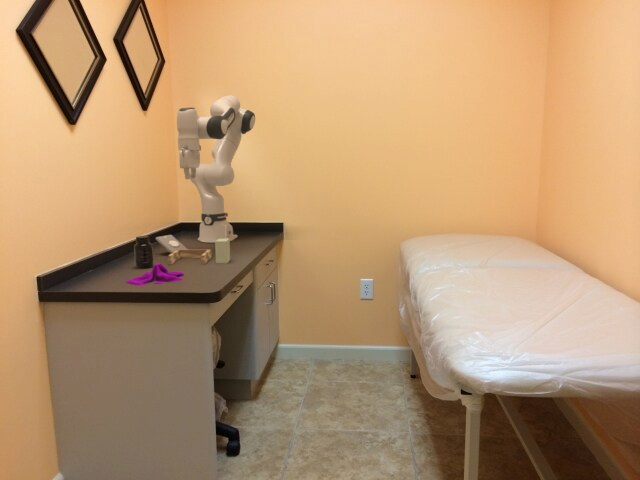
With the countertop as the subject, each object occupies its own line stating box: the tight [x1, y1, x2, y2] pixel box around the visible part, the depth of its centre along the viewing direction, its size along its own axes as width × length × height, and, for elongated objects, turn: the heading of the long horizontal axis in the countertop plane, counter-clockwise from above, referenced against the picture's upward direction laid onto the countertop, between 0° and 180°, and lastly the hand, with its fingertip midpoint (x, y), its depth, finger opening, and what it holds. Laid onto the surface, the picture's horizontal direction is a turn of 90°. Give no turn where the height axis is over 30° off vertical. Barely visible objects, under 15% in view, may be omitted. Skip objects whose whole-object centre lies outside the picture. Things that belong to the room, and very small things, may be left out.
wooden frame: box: [167, 248, 213, 266], centre depth 206 cm, size 14×14×4 cm
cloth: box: [125, 262, 185, 286], centre depth 175 cm, size 22×19×6 cm
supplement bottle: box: [133, 235, 155, 269], centre depth 195 cm, size 7×7×12 cm
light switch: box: [155, 234, 188, 254], centre depth 221 cm, size 8×6×14 cm
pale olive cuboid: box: [214, 239, 231, 264], centre depth 203 cm, size 7×4×9 cm, turn 0°
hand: (190, 178), depth 215 cm, fingers open, 8 cm apart
